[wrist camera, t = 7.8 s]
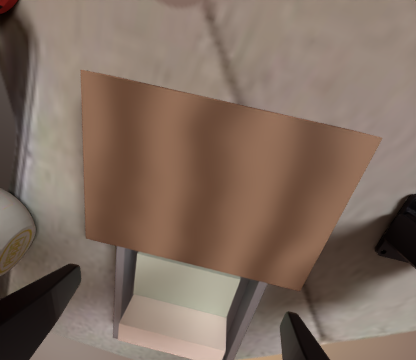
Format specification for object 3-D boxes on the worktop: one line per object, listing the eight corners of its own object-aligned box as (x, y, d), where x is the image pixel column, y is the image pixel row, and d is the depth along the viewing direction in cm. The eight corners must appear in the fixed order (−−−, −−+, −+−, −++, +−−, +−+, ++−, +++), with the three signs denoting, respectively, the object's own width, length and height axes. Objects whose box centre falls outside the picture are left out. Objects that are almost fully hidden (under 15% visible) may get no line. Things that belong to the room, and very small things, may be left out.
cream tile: (225, 351, 18) (219, 366, 19) (227, 296, 24) (221, 310, 25) (119, 323, 19) (117, 339, 20) (143, 275, 24) (141, 290, 25)
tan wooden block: (352, 130, 16) (382, 138, 13) (289, 262, 22) (299, 291, 18) (110, 75, 17) (80, 69, 13) (107, 217, 22) (85, 238, 19)
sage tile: (239, 260, 21) (240, 279, 19) (226, 296, 24) (226, 317, 21) (147, 237, 22) (137, 253, 19) (142, 274, 24) (133, 293, 21)
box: (264, 257, 22) (268, 281, 19) (230, 340, 27) (230, 368, 24) (131, 225, 22) (116, 243, 19) (124, 313, 28) (112, 337, 25)
